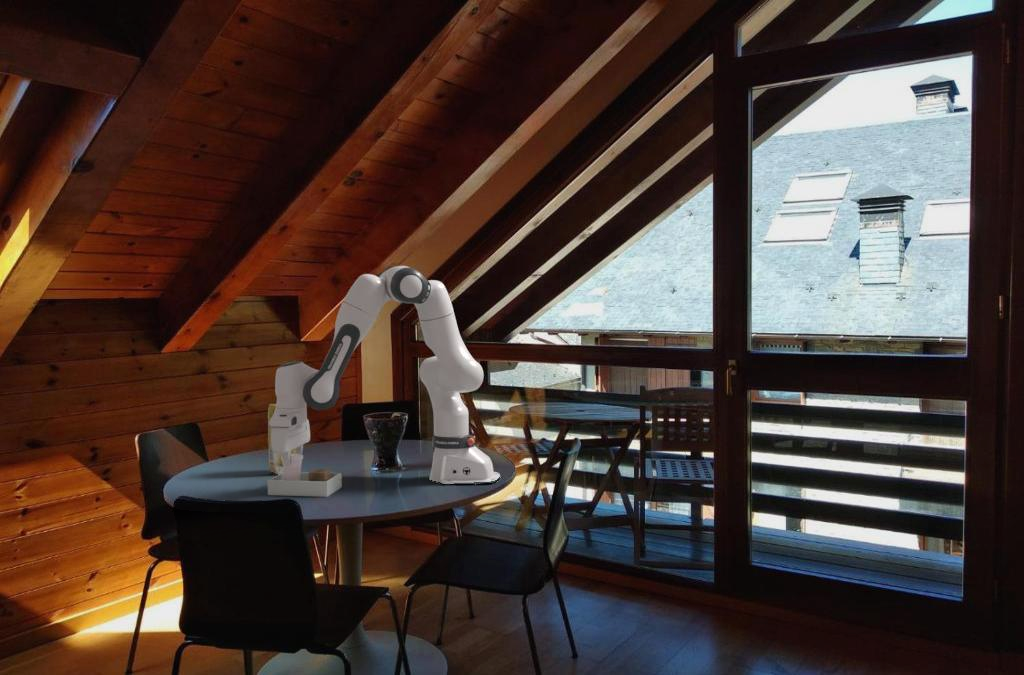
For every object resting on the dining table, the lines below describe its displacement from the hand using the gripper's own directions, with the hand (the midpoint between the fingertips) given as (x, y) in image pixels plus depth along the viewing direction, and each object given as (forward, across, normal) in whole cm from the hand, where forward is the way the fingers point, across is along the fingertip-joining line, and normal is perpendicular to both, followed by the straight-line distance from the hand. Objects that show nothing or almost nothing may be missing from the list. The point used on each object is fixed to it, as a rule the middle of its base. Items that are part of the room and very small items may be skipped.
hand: (292, 462), depth 243 cm
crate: (+9, 0, +4) cm, 10 cm away
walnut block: (+8, 0, +8) cm, 12 cm away
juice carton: (+9, -27, -14) cm, 32 cm away
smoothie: (+8, 0, 0) cm, 8 cm away
